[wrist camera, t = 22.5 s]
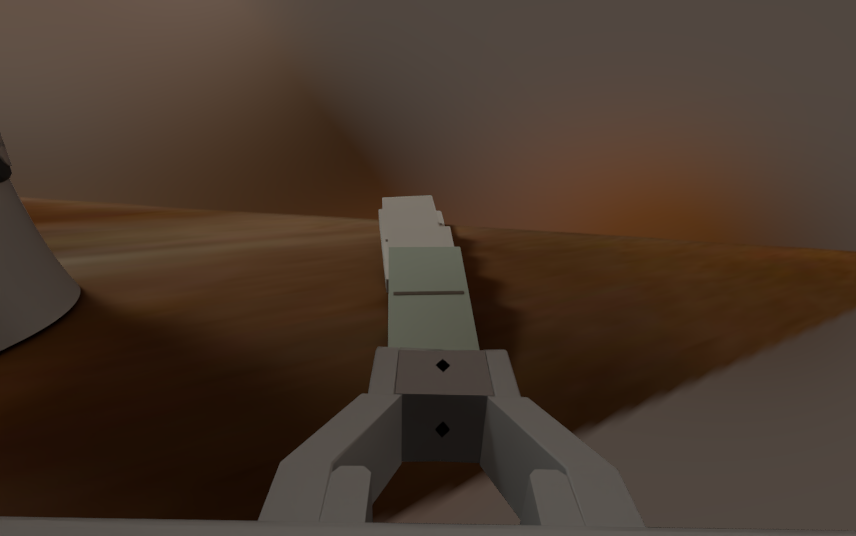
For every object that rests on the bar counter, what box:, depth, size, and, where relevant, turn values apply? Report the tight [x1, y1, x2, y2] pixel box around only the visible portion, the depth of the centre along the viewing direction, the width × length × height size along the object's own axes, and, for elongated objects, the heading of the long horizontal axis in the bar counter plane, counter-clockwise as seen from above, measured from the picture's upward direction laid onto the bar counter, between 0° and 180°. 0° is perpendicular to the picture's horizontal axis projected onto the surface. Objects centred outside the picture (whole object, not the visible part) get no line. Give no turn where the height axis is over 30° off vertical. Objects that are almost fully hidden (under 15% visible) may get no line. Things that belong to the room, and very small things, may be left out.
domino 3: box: [379, 206, 439, 292], centre depth 35 cm, size 2×5×9 cm
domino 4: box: [388, 247, 479, 350], centre depth 26 cm, size 2×5×9 cm
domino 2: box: [388, 226, 454, 266], centre depth 30 cm, size 2×5×9 cm
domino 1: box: [382, 195, 440, 226], centre depth 39 cm, size 2×5×9 cm
